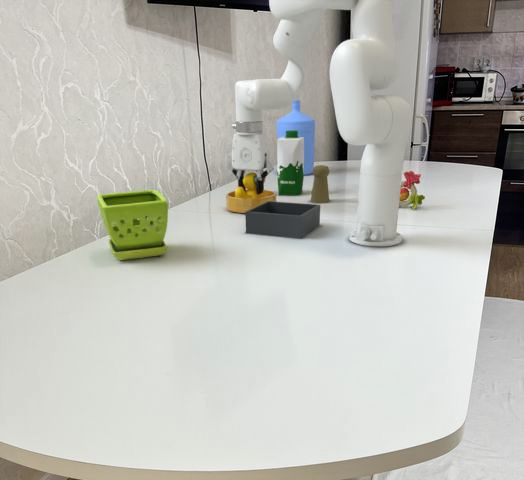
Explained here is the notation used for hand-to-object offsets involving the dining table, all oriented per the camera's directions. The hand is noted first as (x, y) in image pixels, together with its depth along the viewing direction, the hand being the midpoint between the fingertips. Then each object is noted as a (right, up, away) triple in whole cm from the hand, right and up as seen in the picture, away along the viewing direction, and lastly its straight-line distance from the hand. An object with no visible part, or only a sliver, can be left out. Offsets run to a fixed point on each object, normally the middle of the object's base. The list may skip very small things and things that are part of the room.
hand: (251, 192), depth 159 cm
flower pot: (-25, -26, -38) cm, 52 cm away
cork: (+22, 0, +11) cm, 25 cm away
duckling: (0, -4, +2) cm, 5 cm away
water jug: (+18, +27, +64) cm, 71 cm away
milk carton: (+13, +6, +23) cm, 27 cm away
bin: (+9, -16, -21) cm, 28 cm away
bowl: (0, -4, +2) cm, 5 cm away
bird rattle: (+47, -5, -1) cm, 47 cm away
